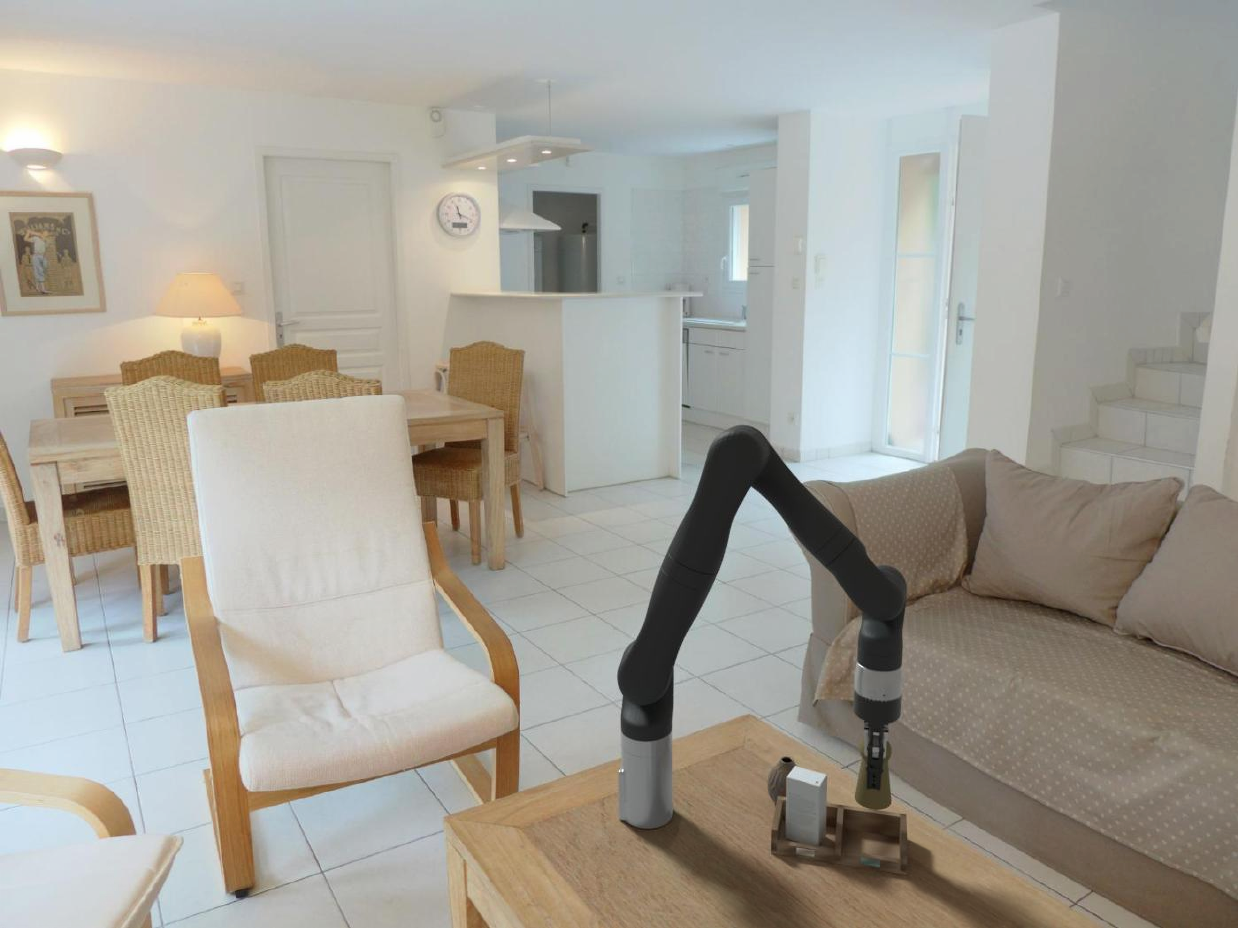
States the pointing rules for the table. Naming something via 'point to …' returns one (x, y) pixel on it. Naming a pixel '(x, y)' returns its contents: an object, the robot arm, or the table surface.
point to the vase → (779, 777)
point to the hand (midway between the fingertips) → (873, 781)
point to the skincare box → (806, 806)
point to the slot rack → (850, 838)
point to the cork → (873, 796)
